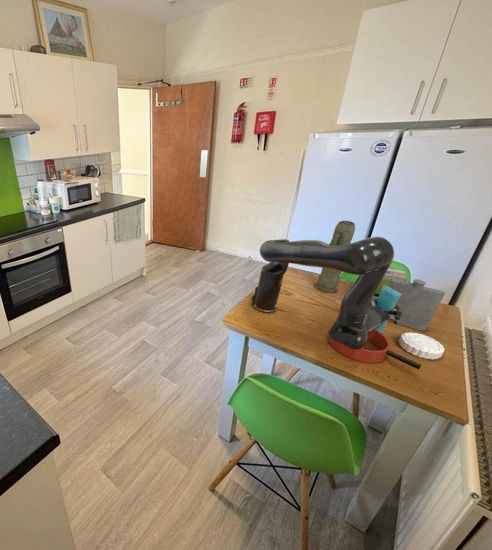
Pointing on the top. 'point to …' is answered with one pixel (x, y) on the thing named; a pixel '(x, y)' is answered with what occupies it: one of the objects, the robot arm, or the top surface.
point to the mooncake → (421, 345)
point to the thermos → (340, 237)
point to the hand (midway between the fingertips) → (386, 304)
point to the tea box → (390, 279)
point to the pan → (373, 355)
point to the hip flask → (416, 303)
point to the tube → (387, 301)
